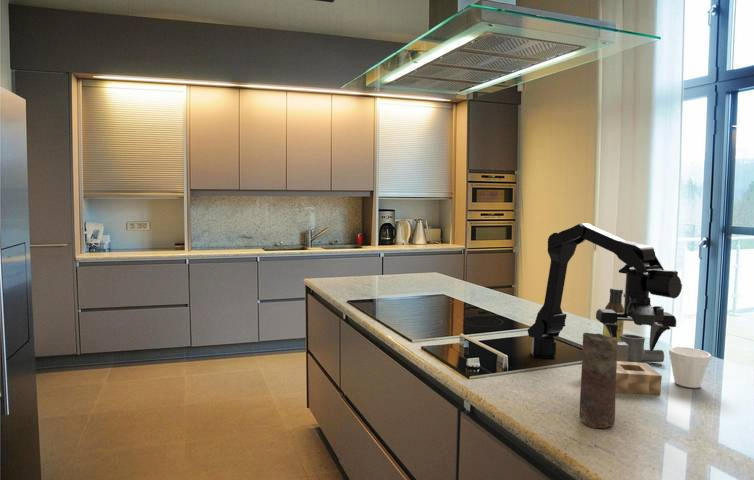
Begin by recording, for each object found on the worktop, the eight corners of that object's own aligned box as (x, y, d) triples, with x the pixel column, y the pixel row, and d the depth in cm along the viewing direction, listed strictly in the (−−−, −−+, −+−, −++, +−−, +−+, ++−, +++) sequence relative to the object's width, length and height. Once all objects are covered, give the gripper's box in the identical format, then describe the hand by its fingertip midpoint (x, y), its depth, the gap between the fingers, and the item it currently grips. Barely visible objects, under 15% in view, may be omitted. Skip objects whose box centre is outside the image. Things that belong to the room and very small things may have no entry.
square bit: (613, 371, 158) (615, 344, 157) (610, 367, 161) (611, 341, 161) (626, 372, 157) (628, 345, 157) (622, 368, 161) (624, 342, 160)
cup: (703, 381, 151) (706, 349, 150) (713, 393, 141) (715, 359, 141) (663, 377, 154) (666, 345, 153) (670, 388, 145) (672, 354, 144)
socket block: (615, 391, 141) (616, 372, 140) (603, 377, 152) (604, 360, 151) (660, 394, 140) (661, 375, 139) (644, 380, 150) (646, 362, 150)
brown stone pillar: (572, 415, 124) (577, 330, 123) (603, 415, 125) (608, 330, 123) (588, 430, 117) (593, 339, 115) (621, 429, 117) (626, 339, 116)
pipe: (665, 366, 164) (667, 340, 163) (620, 363, 166) (621, 337, 166) (659, 360, 170) (661, 335, 169) (615, 357, 172) (617, 332, 172)
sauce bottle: (612, 349, 181) (615, 290, 180) (597, 344, 187) (601, 287, 185) (626, 347, 184) (630, 289, 182) (611, 343, 189) (615, 286, 188)
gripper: (609, 295, 137) (605, 356, 138) (687, 299, 134) (683, 360, 136) (597, 288, 148) (593, 344, 149) (669, 291, 145) (665, 348, 147)
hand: (633, 349), depth 145 cm, fingers open, 9 cm apart
